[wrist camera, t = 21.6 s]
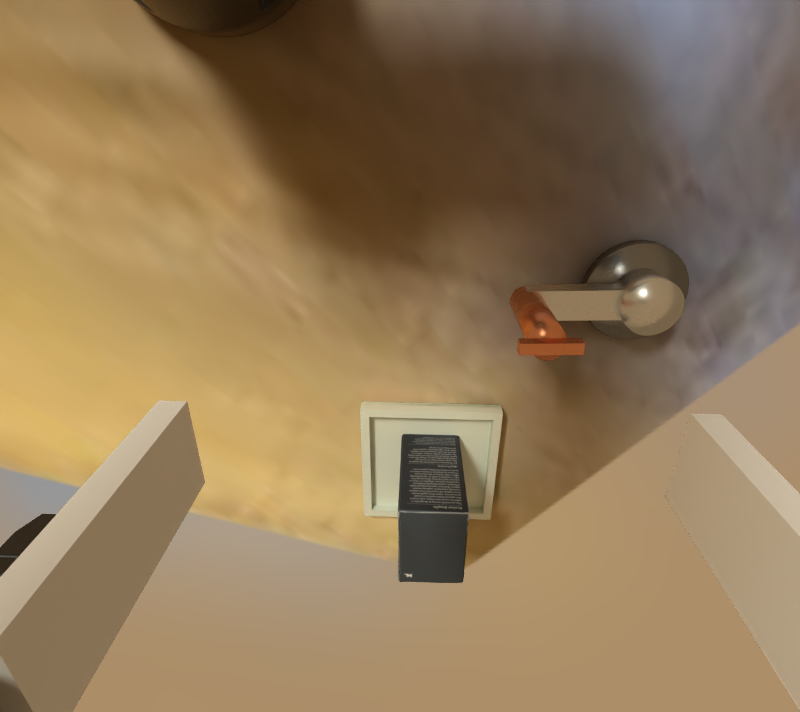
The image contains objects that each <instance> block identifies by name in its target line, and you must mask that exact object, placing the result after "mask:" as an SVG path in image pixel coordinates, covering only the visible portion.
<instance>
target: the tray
mask: <svg viewBox="0 0 800 712" xmlns="http://www.w3.org/2000/svg"><path fill="white" fill-rule="evenodd" d="M502 417H503V411H502V408H501V405H488V404H447V403H405V402H364V401H362V403H361V408H360V419H361V446H362V473H363V500H364V516H383V517H398V514H397V512H398V499H399V481H400V461H401V439H402V435H403V434H430V435H457V436H459V440H460V448H461V455H462V463H463V471H464V479H465V487H466V495H467V502H468V509H469V519H478V520H491V512H492V503H493V495H494V486H495V477H496V469H497V460H498V452H499V443H500V434H501V426H502Z"/></svg>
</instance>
